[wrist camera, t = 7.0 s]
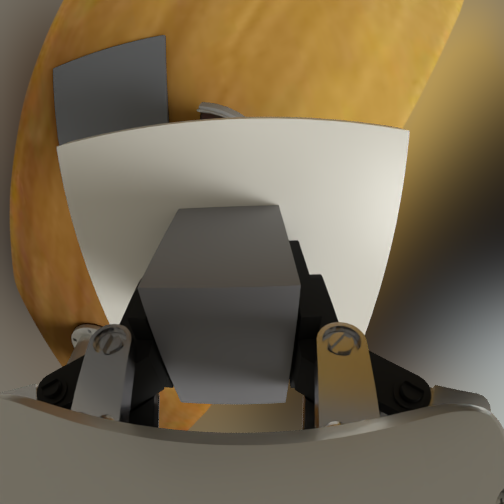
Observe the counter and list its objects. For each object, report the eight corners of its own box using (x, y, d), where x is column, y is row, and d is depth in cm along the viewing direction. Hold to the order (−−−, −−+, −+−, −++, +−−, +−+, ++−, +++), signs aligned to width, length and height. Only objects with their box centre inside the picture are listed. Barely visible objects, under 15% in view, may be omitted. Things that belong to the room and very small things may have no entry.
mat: (171, 152, 27) (170, 153, 27) (66, 169, 27) (63, 170, 26) (165, 36, 20) (164, 35, 20) (55, 68, 20) (53, 68, 20)
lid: (355, 334, 15) (383, 417, 10) (127, 338, 14) (100, 419, 10) (396, 127, 9) (498, 164, 4) (69, 141, 9) (-28, 188, 4)
